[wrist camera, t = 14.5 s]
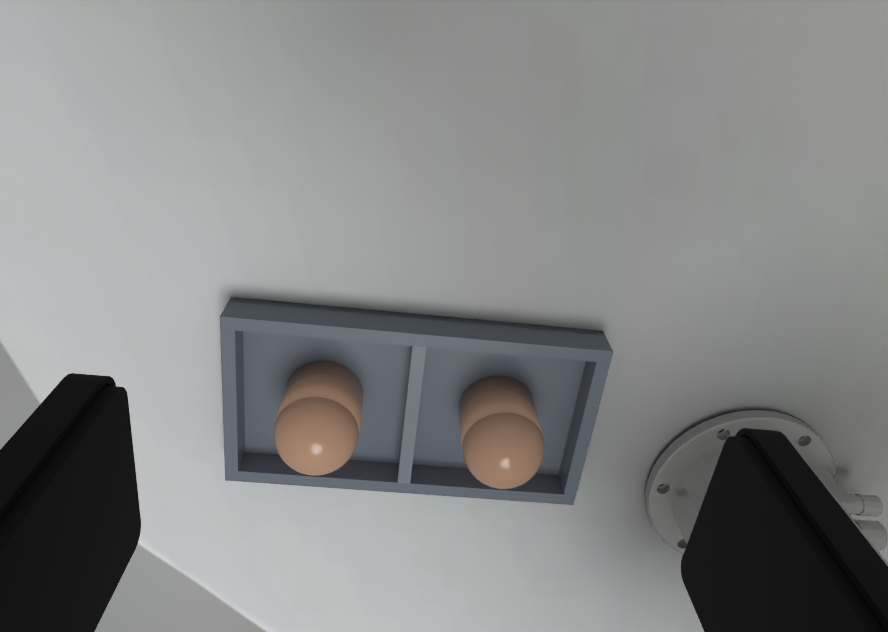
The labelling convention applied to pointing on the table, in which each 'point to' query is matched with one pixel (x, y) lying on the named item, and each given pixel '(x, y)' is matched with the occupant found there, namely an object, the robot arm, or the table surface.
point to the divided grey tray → (407, 394)
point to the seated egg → (500, 432)
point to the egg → (319, 418)
